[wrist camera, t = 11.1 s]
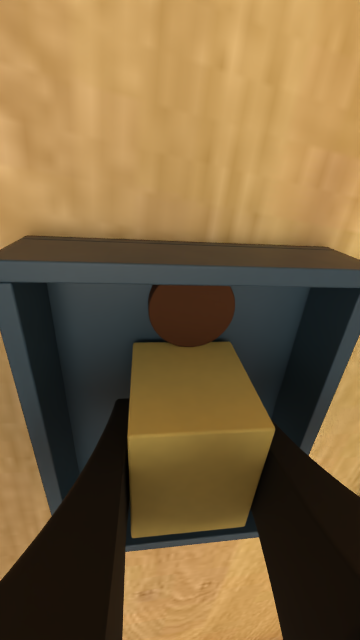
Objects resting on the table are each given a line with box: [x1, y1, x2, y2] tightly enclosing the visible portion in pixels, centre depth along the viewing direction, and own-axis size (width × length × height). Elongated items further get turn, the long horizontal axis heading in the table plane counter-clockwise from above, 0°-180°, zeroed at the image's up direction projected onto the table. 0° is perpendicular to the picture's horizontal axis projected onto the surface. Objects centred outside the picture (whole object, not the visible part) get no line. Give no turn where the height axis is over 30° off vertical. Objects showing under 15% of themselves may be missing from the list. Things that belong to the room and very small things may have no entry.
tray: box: [0, 236, 360, 552], centre depth 12 cm, size 15×11×3 cm
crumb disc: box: [148, 285, 235, 347], centre depth 10 cm, size 3×3×1 cm
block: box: [127, 342, 275, 538], centre depth 10 cm, size 5×4×4 cm
